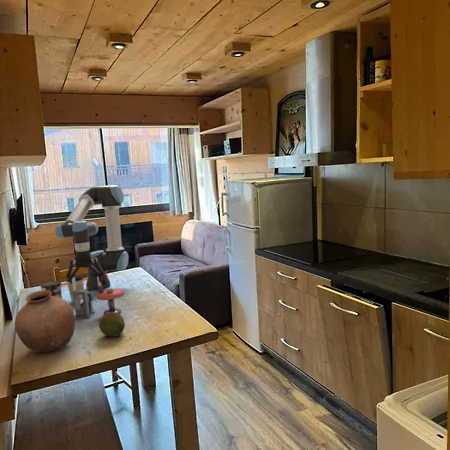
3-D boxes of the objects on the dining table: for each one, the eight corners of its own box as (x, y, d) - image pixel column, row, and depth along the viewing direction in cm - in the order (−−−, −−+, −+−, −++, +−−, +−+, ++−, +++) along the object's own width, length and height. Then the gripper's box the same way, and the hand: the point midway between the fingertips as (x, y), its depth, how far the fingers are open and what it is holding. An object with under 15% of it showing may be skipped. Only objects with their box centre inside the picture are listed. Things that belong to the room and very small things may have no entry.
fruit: (116, 327, 191) (114, 307, 189) (133, 333, 183) (131, 311, 181) (95, 336, 182) (92, 315, 181) (111, 342, 174) (109, 320, 173)
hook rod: (87, 300, 223) (85, 288, 222) (93, 299, 223) (92, 287, 222) (75, 311, 205) (73, 299, 204) (81, 311, 205) (80, 298, 204)
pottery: (68, 333, 189) (61, 280, 185) (85, 348, 170) (77, 290, 167) (14, 349, 175) (5, 293, 172) (26, 367, 157) (16, 305, 153)
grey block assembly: (80, 311, 219) (77, 286, 217) (97, 309, 219) (93, 285, 217) (71, 319, 207) (68, 294, 205) (89, 318, 206) (85, 292, 205)
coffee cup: (88, 297, 242) (85, 273, 240) (81, 302, 233) (78, 277, 231) (74, 298, 243) (70, 273, 241) (66, 303, 234) (63, 278, 232)
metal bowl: (106, 311, 216) (104, 294, 215) (123, 309, 216) (121, 293, 214) (101, 317, 207) (99, 300, 206) (118, 315, 207) (116, 298, 205)
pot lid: (129, 291, 214) (128, 282, 213) (114, 300, 201) (113, 290, 200) (106, 291, 219) (105, 281, 218) (90, 299, 206) (89, 289, 205)
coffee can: (67, 304, 233) (63, 280, 231) (56, 310, 223) (52, 285, 221) (51, 304, 235) (47, 280, 233) (39, 310, 225) (36, 286, 223)
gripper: (56, 253, 213) (61, 292, 216) (103, 249, 213) (108, 289, 216) (62, 250, 221) (67, 288, 223) (108, 247, 220) (112, 285, 223)
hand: (87, 289), depth 219 cm, fingers open, 13 cm apart
